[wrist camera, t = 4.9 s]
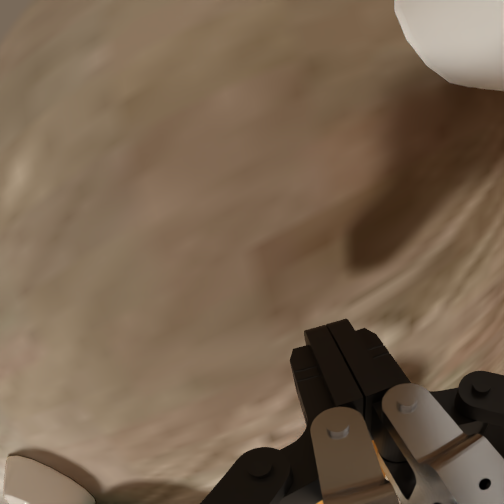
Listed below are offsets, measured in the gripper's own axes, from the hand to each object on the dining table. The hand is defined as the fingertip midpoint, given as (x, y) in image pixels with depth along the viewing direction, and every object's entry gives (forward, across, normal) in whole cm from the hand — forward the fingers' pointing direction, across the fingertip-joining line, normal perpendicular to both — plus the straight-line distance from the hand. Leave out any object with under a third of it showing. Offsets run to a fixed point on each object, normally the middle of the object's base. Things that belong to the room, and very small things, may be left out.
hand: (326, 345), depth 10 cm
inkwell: (+3, +26, +18) cm, 31 cm away
